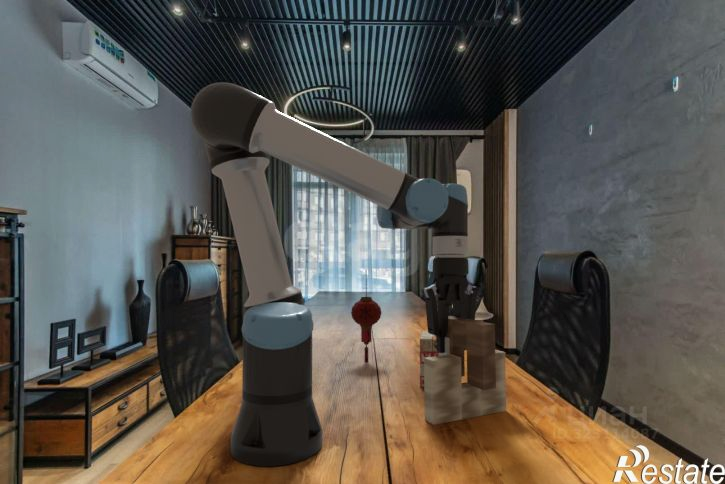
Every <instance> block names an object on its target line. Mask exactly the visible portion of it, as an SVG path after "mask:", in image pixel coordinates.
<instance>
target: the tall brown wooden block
mask: <svg viewBox="0 0 725 484" xmlns="http://www.w3.org/2000/svg"><path fill="white" fill-rule="evenodd" d="M446 337H448V338H450V355H455V356H458V357H461V378H462V377H465V375H466V378H467V379H466V382H467V384H469V385H472V386H474V387H477V388H479V389H482V390H488V389H494V388H496V362H495V350H496V324H495V323H491V322H486V321H479V320H476V319H475V320H470V319H464V318H459V317H454V315H449V316H448V325H447V333H446ZM464 350H465V351H466V364H465V351H464ZM465 365H466V368H465ZM465 369H466V374H465Z"/></svg>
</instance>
